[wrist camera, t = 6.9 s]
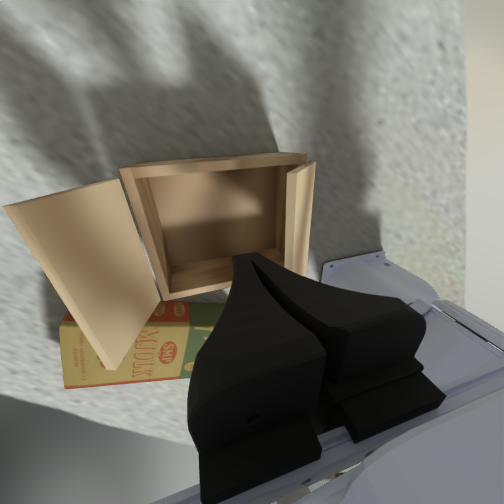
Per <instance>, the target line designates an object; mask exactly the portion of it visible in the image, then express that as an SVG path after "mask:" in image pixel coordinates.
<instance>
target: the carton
mask: <svg viewBox="0 0 504 504" xmlns="http://www.w3.org/2000/svg"><path fill="white" fill-rule="evenodd" d="M224 306H225V304H219V303H194V302H175V301H159V303H158V305H157V306H156V308H155V309H154V311H153V313H152V314H151V316H150V317H149V319H148V320H147V322H146V324H145V325H144V327H143V328H142V330H141V331H140V333H139V335H138V336H137V338H136V339H135V341H134V342H133V344H132V346H131V347H130V349H129V350H128V352H127V354H126V355H125V357H124V358H123V360H122V361H121V363H120V365H119V366H118V368H117V369H116V370H107V369H106V368H105V366H104V365H103V363H102V361H101V360H100V358H99V357H98V355H97V354H96V352H95V350H94V349H93V347H92V346H91V344H90V343H89V341H88V339H87V338H86V336H85V335H84V333H83V332H82V330H81V329H80V327H79V325H78V324H77V322H76V321H75V319H74V318H73V316H72V314H71V313H70V311H69V310H68V312H67V313H66V315H65V317H64V318H63V320H62V322H61V324H60V327H59V336H60V348H61V360H62V368H63V379H64V388H65V389H74V388H86V387H97V386H107V385H118V384H129V383H139V382H151V381H162V380H173V379H184V378H191V374H192V370H193V366H194V362H195V358H196V354H197V353H198V351H199V350H200V348H201V347H202V345H203V344H204V343H205V341H206V340H207V338H208V337H209V335H210V334H211V332H212V330H213V328H214V327H215V325H216V323H217V321H218V319H219V318H220V316H221V313H222V311H223V309H224Z"/></svg>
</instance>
